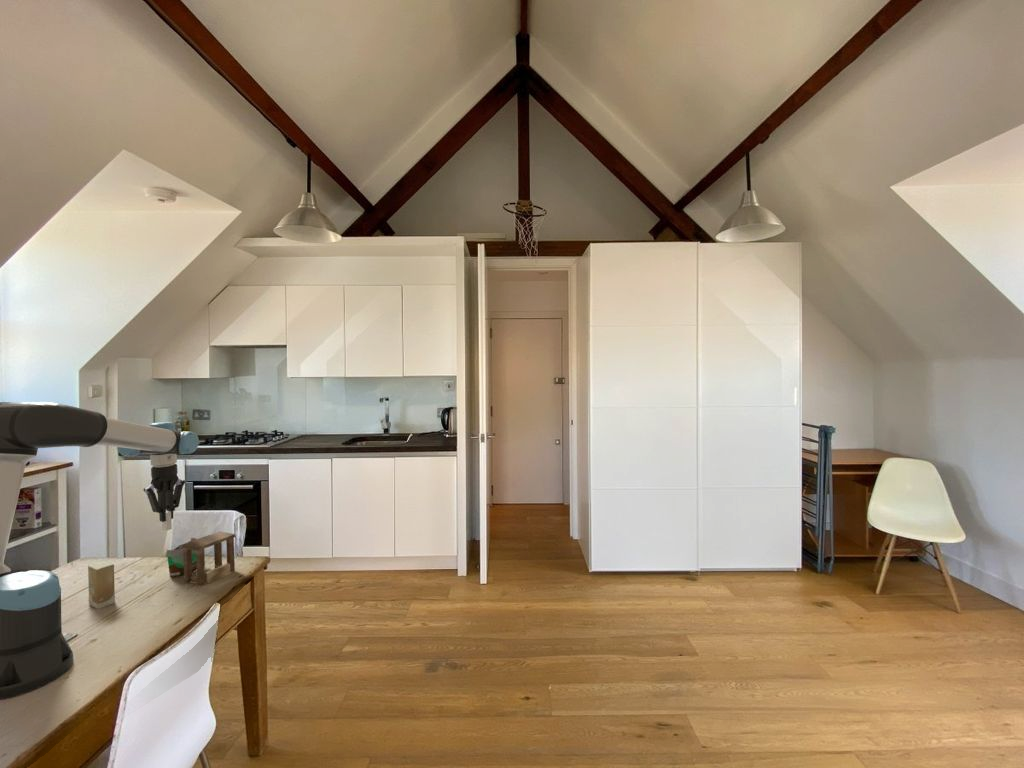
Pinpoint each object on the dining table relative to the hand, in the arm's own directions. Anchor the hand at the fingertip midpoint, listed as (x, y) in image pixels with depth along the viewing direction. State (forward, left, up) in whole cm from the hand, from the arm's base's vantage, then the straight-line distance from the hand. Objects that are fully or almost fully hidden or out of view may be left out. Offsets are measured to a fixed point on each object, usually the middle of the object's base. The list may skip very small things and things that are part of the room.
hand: (167, 529), depth 162 cm
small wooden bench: (0, -23, -14) cm, 26 cm away
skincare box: (-24, -9, -14) cm, 29 cm away
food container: (0, -12, -14) cm, 18 cm away
